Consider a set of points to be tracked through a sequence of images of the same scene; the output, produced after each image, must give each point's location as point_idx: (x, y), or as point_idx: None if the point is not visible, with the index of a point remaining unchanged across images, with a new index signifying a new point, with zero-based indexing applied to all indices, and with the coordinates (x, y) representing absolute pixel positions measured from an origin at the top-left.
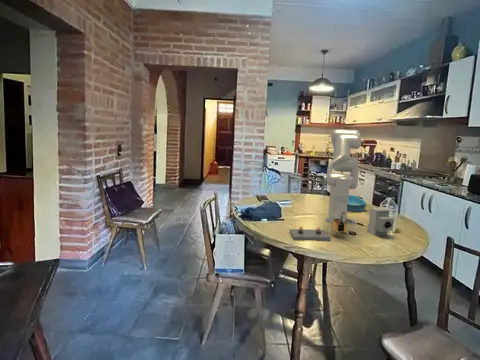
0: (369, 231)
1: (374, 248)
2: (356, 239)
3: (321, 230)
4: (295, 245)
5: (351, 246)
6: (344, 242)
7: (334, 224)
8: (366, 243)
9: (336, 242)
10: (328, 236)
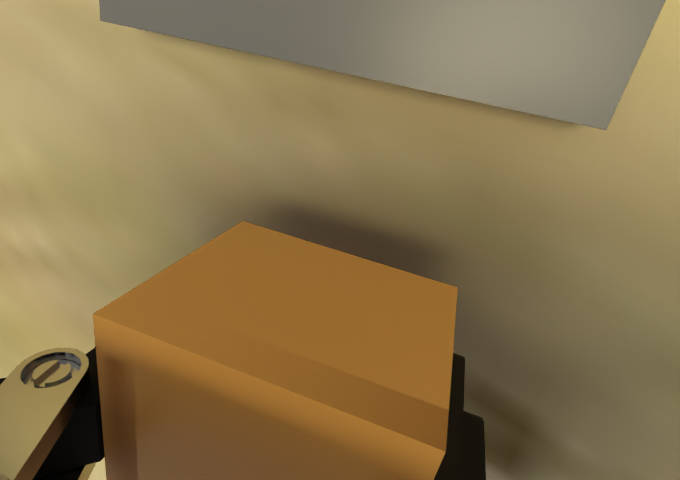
0: None
1: (4, 376)
2: None
3: (574, 35)
4: None
5: (4, 210)
6: (116, 211)
7: (272, 312)
8: None
9: (103, 100)
10: (153, 6)
